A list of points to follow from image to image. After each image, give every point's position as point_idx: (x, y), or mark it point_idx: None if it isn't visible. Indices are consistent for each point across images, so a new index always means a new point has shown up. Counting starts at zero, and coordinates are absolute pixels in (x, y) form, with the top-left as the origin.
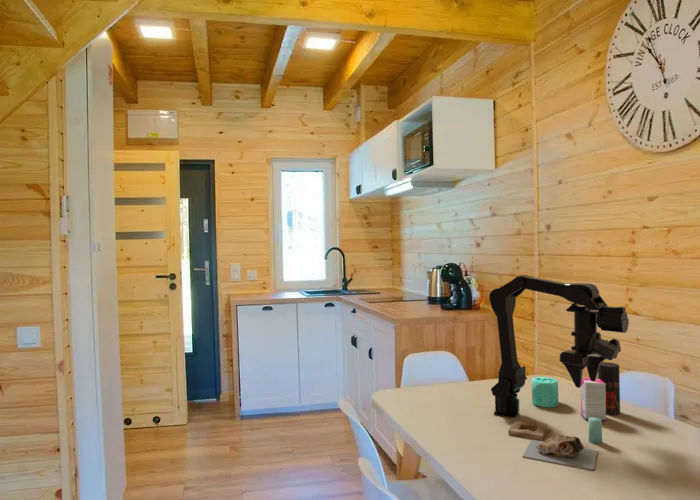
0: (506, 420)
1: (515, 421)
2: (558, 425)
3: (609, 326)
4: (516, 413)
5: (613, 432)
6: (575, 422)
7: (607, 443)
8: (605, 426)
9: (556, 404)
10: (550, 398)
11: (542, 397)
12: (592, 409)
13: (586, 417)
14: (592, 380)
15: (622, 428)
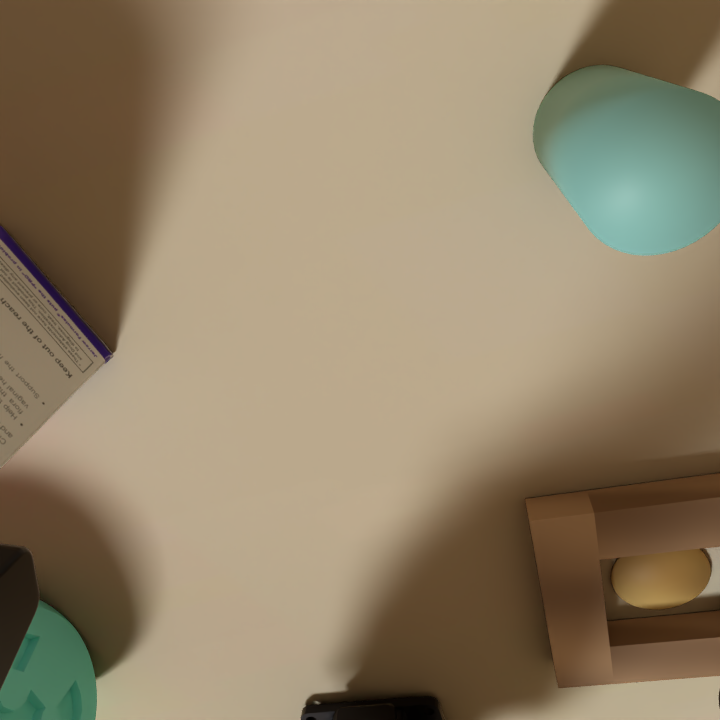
0: (506, 712)
1: (579, 682)
2: (378, 470)
3: None
4: (395, 713)
5: (220, 70)
6: (217, 399)
7: (571, 18)
8: (119, 182)
9: None
10: None
11: (51, 699)
12: (20, 355)
13: (98, 360)
14: (31, 588)
15: (43, 33)
